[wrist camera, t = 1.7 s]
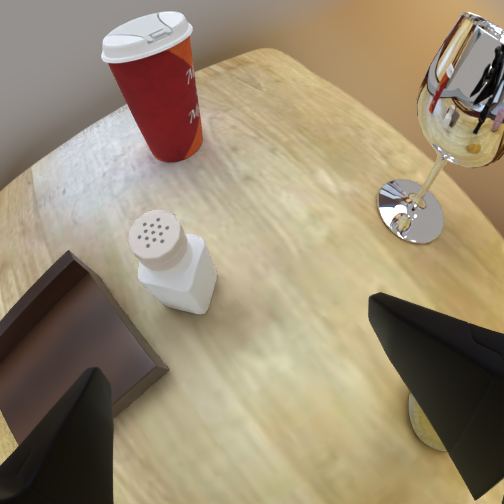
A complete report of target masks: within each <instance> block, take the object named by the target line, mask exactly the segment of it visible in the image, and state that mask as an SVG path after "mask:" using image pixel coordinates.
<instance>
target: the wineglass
mask: <svg viewBox="0 0 504 504" xmlns="http://www.w3.org/2000/svg"><path fill="white" fill-rule="evenodd" d="M417 116H418V119H419V122H420V126H421V129H422V132H423V133H424V136H425V137H426V139H427V140H428V142H429V143H430V145H431V146H432V148H433V149H434V150H435V151H436V152H437V153H438V157H437V159H436V162H435V164H434V166H433V168H432V170H431V172H430V174H429V175H428V177H427V179H426V181H425V182H424V184H423V186H422V185H420V184H419V183H417V182H414V181H411V180H407V179H395V180H392V181H389V182H387V183H386V184H384V185H383V187H382V188H381V189H380V191H379V193H378V197H377V207H378V211H379V214H380V216H381V218H382V220H383V222H384V223H385V224H386V226H387V227H388V228H389V229H390V230H391V231H392V232H393V233H394V234H396V235H397V236H398V237H400V238H402V239H404V240H406V241H409V242H411V243H417V244H425V243H428V242H431V241H433V240H435V239H436V238H437V237H438V236H439V235H440V233H441V232H442V229H443V225H444V216H443V211H442V208H441V206H440V204H439V202H438V200H437V199H436V198H435V196H434V195H433V194H432V193H431V192H430V191H429V189H430V187H431V185H432V184H433V182H434V181H435V179H436V177H437V176H438V174H439V173H440V171H441V170H442V168H443V167H444V166H445V165H446V163H447V162H448V161H449V162H451V163H453V164H456V165H459V166H463V167H468V168H477V167H483V166H488V165H490V164H492V163H494V162H495V161H497V160H499V159H500V158H501V157H502V155H503V154H504V30H503V29H502V28H500V27H499V26H497V25H495V24H494V23H492V22H490V21H488V20H486V19H484V18H482V17H480V16H477V15H475V14H472V13H469V12H463V13H462V15H461V16H460V18H459V19H458V21H457V22H456V24H455V25H454V27H453V28H452V30H451V31H450V33H449V34H448V36H447V38H446V39H445V41H444V42H443V44H442V46H441V48H440V49H439V51H438V53H437V54H436V56H435V57H434V59H433V61H432V63H431V65H430V66H429V68H428V71H427V73H426V75H425V78H424V79H423V82H422V84H421V87H420V90H419V94H418V98H417Z"/></svg>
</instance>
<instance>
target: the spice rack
mask: <svg viewBox="0 0 504 504" xmlns="http://www.w3.org/2000/svg"><path fill="white" fill-rule="evenodd" d="M90 367H99V368H100V369H101V370H102V372H103V373H104V375H105V376H106V378H107V379H108V381H109V382H110V384H111V387H112V405H113V419H114V418H115V417H116V416H117V415H118V414H120V413H121V412H122V411H123V410H124V409H125V408H126V407H128V406H129V405H130V404H131V403H132V402H133V401H135V400H136V399H137V398H138V397H139V396H140V395H141V394H143V393H144V392H145V391H146V390H147V389H148V388H149V387H151V386H152V385H153V384H154V383H155V382H156V381H157V380H158V379H160V378H161V377H162V376H163V375H164V374H165V373H166V372H167V371H169V368H168V367H167V366H166V365H165V363H164V362H163V361H162V360H161V359H160V357H159V356H158V355H157V354H156V353H155V351H154V350H153V349H152V348H151V346H150V345H149V344H148V343H147V341H146V340H145V339H144V338H143V336H142V335H141V334H140V332H139V331H138V330H137V329H136V327H135V326H134V325H133V323H132V322H131V321H130V319H129V318H128V317H127V315H126V314H125V313H124V311H123V310H122V308H121V307H120V306H119V304H118V303H117V302H116V300H115V299H114V297H113V296H112V294H111V293H110V292H109V290H108V289H107V287H106V286H105V284H104V283H103V281H102V280H101V278H100V277H99V276H98V275H97V274H96V273H95V272H93V271H92V270H91V269H90V268H89V267H87V266H86V265H85V264H84V263H83V262H82V261H81V260H79V259H78V258H77V257H76V256H75V255H74V254H73V253H72V252H70V251H69V250H68V251H67V252H66V253H65V254H64V255H63V256H61V257H60V258H59V259H58V260H57V261H56V262H55V263H54V264H53V265H52V266H51V267H50V268H49V269H48V270H47V271H46V272H45V273H44V274H43V275H42V276H41V277H40V278H39V279H38V280H37V281H36V282H35V284H34V285H33V286H32V287H31V288H30V289H29V290H28V291H27V292H26V293H25V294H24V295H23V296H22V297H21V298H20V300H19V301H18V302H17V303H16V304H15V305H14V306H13V307H12V308H11V310H10V311H9V312H8V313H7V314H6V315H5V316H4V318H3V319H2V320H1V321H0V410H1V412H2V414H3V416H4V418H5V420H6V422H7V424H8V426H9V428H10V430H11V432H12V434H13V436H14V438H15V440H16V441H17V443H18V445H20V444H21V443H22V442H23V441H24V439H25V438H26V437H27V436H28V435H30V432H31V431H32V430H33V429H34V428H35V426H36V425H37V424H38V423H39V422H40V421H41V419H42V418H43V417H44V416H45V415H46V414H47V412H48V411H49V410H50V409H51V408H52V407H53V406H54V404H55V403H56V402H57V401H58V400H59V399H60V398H61V397H62V395H63V394H64V393H65V392H66V391H67V390H68V389H69V388H70V386H71V385H72V384H73V383H74V382H75V381H76V380H77V379H78V378H79V376H80V375H81V374H82V373H83V372H84V371H85V370H86V369H87V368H90Z"/></svg>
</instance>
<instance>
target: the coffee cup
mask: <svg viewBox="0 0 504 504" xmlns="http://www.w3.org/2000/svg"><path fill="white" fill-rule="evenodd" d="M192 29H193V28H192V26H191V25H190V24H189V23H188V22H187V21H186V18H185V16H183V14H181V13H179V12H160V13H155V14H150V15H146V16H143V17H140V18H137V19H134V20H132V21H129V22H127V23H125V24H123V25H121V26H119V27H117V28H116V29H114V30H113V31H112V32H110V33H109V34H108V35H107V36H106V37H105V38H104V39H103V43H102V45H103V51H102V55H101V57H102V60H103V61H104V62H107V63H108V64H109V66H110V69H111V71H112V73H113V75H114V77H115V79H116V81H117V83H118V86H119V88H120V90H121V92H122V94H123V96H124V98H125V100H126V102H127V104H128V107H129V109H130V111H131V113H132V115H133V117H134V119H135V121H136V123H137V125H138V127H139V129H140V131H141V133H142V135H143V137H144V139H145V140H146V142H147V144H148V146H149V148H150V150H151V152H152V153H153V155H154V156H155V157H156V158H157V159H158V160H160V161H163V162H177V161H181V160H184V159H186V158H188V157H190V156H192V155H193V154H194V153H196V152H197V151H198V149H199V148H200V146H201V144H202V140H203V137H202V127H201V119H200V112H199V104H198V97H197V89H196V82H195V74H194V67H193V60H192V51H191V44H190V34H191V33H192Z"/></svg>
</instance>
